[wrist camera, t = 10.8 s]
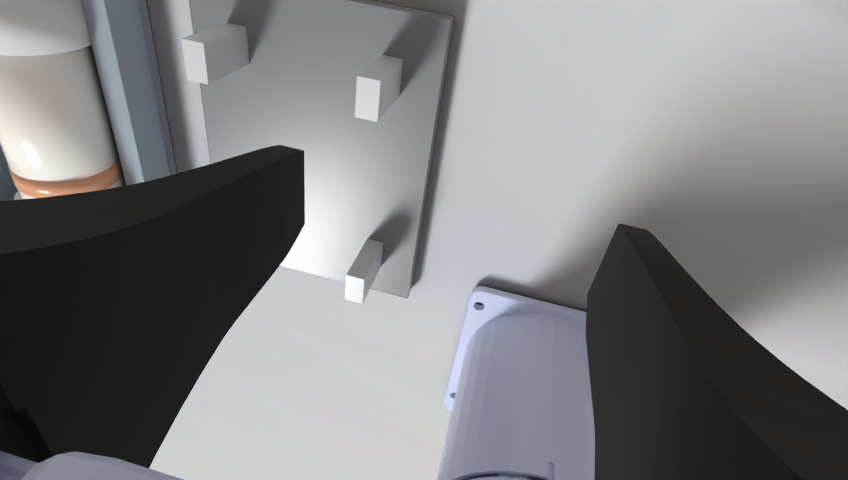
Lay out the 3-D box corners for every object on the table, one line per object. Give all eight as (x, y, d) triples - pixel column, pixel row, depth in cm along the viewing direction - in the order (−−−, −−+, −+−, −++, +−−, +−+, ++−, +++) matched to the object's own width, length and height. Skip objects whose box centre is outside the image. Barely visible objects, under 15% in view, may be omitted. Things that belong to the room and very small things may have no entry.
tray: (189, 245, 27) (163, 269, 25) (14, 199, 28) (-23, 219, 27) (133, -76, 18) (87, -74, 17) (-117, -122, 20) (-185, -125, 18)
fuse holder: (411, 288, 25) (391, 338, 22) (230, 241, 26) (188, 283, 23) (454, 16, 18) (433, 37, 15) (197, -34, 19) (130, -23, 16)
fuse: (121, 185, 26) (154, 227, 24) (15, 210, 24) (40, 261, 21) (68, -23, 21) (104, 4, 18) (-81, -23, 18) (-62, 9, 15)
